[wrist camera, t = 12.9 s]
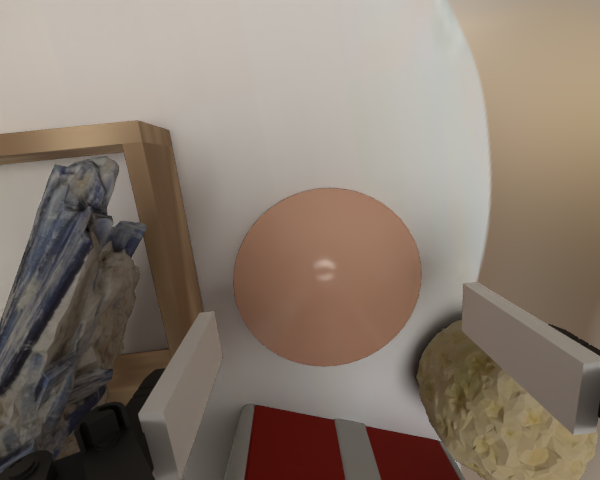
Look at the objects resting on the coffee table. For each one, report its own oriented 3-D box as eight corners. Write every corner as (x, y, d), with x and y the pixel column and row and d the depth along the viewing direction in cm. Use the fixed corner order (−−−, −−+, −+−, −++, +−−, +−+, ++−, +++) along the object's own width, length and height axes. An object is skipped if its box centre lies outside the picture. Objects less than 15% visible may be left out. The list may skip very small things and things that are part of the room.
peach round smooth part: (248, 370, 23) (247, 375, 22) (221, 198, 20) (219, 199, 19) (418, 351, 23) (421, 355, 22) (417, 178, 20) (421, 178, 19)
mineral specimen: (17, 458, 15) (95, 489, 15) (-296, 691, 7) (-114, 753, 7) (152, 197, 17) (221, 228, 17) (37, 128, 9) (174, 190, 9)
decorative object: (439, 285, 25) (405, 348, 17) (602, 324, 20) (661, 440, 12) (424, 376, 28) (389, 465, 20) (564, 431, 23) (591, 583, 15)
